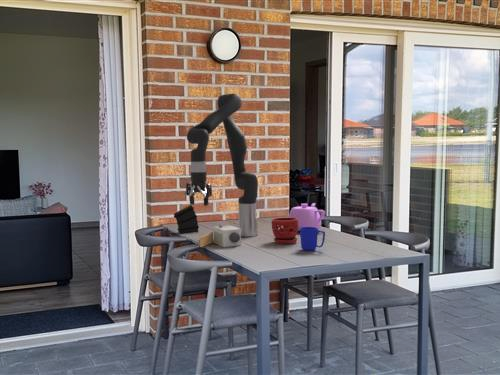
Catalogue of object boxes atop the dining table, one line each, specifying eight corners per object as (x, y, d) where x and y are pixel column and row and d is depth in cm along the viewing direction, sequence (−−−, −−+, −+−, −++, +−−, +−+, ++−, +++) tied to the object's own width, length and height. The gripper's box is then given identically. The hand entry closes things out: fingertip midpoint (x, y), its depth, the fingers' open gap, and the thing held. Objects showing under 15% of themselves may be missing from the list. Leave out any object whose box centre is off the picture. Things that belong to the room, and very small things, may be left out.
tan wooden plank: (213, 242, 285) (213, 232, 285) (201, 247, 272) (201, 236, 272) (210, 242, 286) (210, 232, 285) (198, 247, 273) (198, 236, 272)
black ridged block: (204, 229, 317) (192, 205, 314) (183, 240, 314) (170, 216, 311) (202, 228, 320) (191, 204, 317) (181, 239, 317) (169, 215, 314)
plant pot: (300, 240, 289) (300, 216, 287) (295, 245, 276) (295, 220, 275) (275, 239, 292) (274, 216, 291) (268, 244, 279) (268, 219, 278)
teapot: (318, 234, 306) (318, 206, 304) (283, 231, 316) (283, 204, 315) (335, 228, 325) (335, 202, 324) (301, 225, 336) (301, 200, 335)
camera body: (230, 240, 289) (230, 223, 288) (242, 245, 276) (242, 227, 275) (213, 242, 285) (212, 225, 284) (224, 247, 272) (224, 229, 271)
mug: (320, 253, 257) (320, 230, 256) (296, 250, 264) (296, 228, 263) (328, 249, 264) (328, 228, 263) (304, 247, 271) (304, 226, 270)
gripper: (215, 171, 271) (215, 205, 273) (192, 170, 280) (193, 203, 281) (204, 171, 265) (205, 206, 267) (181, 171, 274) (182, 204, 275)
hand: (199, 205), depth 274 cm, fingers open, 8 cm apart
